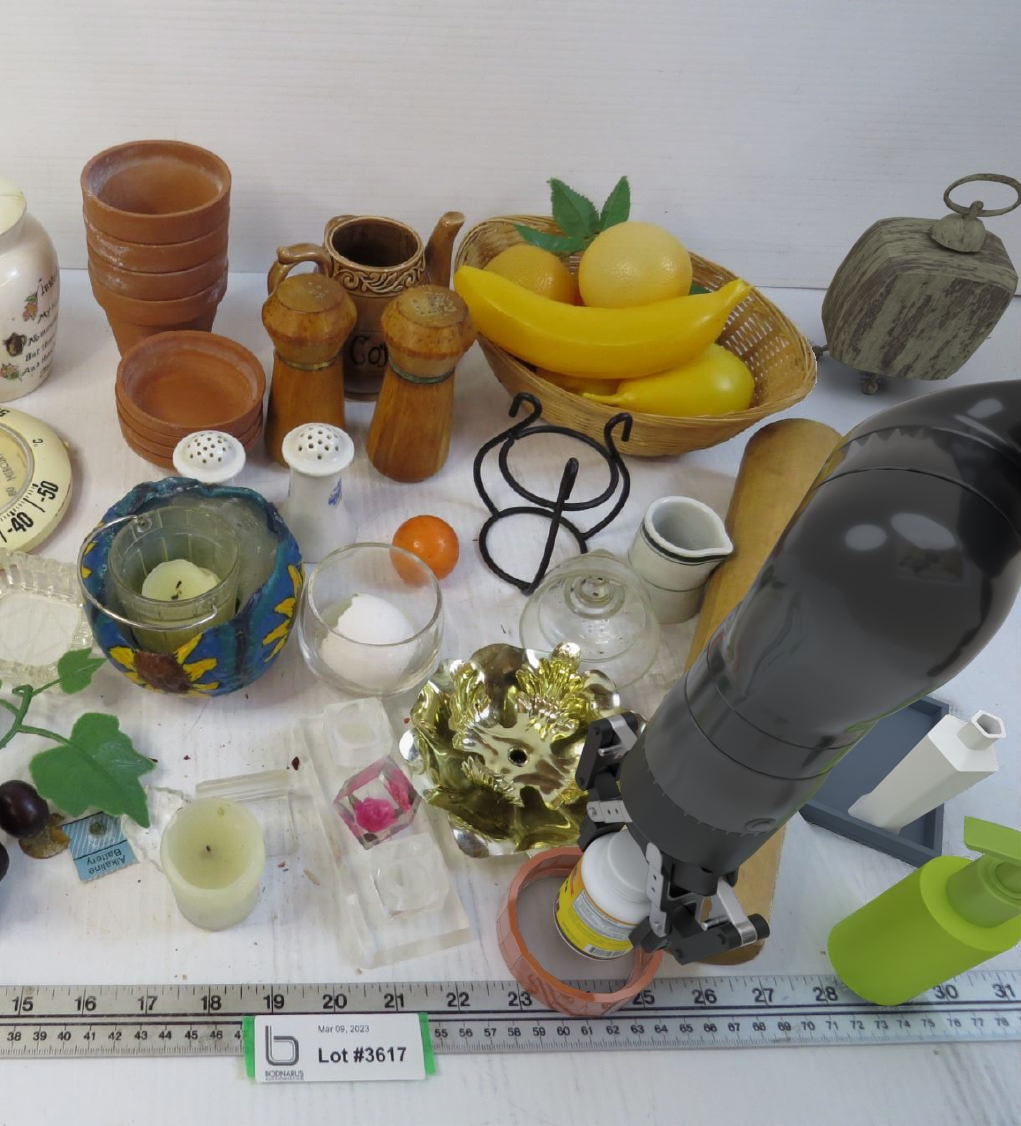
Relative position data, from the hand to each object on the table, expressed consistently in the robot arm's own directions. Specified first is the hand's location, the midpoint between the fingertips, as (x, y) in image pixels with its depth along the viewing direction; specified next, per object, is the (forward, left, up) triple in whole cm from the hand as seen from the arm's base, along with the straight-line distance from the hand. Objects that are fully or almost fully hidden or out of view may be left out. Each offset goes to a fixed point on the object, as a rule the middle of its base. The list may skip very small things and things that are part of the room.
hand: (617, 889), depth 59 cm
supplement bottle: (0, 0, -6) cm, 6 cm away
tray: (+6, -31, -12) cm, 34 cm away
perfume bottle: (+2, -28, -11) cm, 30 cm away
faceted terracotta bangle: (0, 0, -12) cm, 12 cm away
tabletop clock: (+47, -64, -12) cm, 80 cm away
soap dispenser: (-7, -19, -12) cm, 24 cm away
